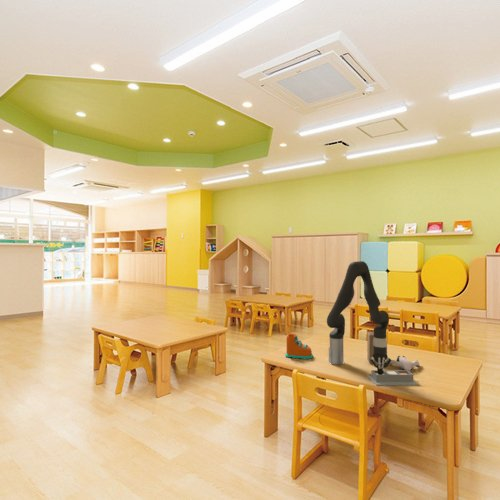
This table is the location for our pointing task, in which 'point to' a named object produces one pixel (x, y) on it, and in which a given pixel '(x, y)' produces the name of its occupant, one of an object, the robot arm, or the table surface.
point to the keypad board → (392, 378)
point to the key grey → (391, 372)
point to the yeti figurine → (404, 363)
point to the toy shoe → (297, 348)
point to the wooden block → (370, 346)
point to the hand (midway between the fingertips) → (380, 374)
